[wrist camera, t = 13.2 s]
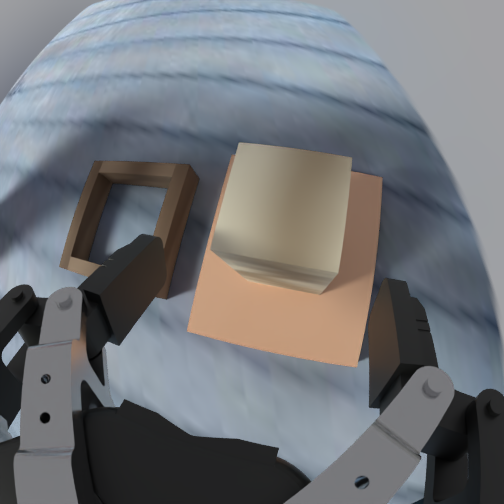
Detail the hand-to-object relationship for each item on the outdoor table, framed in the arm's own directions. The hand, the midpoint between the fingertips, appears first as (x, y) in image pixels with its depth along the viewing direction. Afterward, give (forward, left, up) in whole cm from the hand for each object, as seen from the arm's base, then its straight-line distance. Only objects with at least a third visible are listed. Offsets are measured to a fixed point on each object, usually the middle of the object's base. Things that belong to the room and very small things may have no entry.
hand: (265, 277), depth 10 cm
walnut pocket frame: (-14, +3, -11) cm, 18 cm away
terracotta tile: (0, +3, -11) cm, 12 cm away
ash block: (0, +3, -10) cm, 10 cm away
